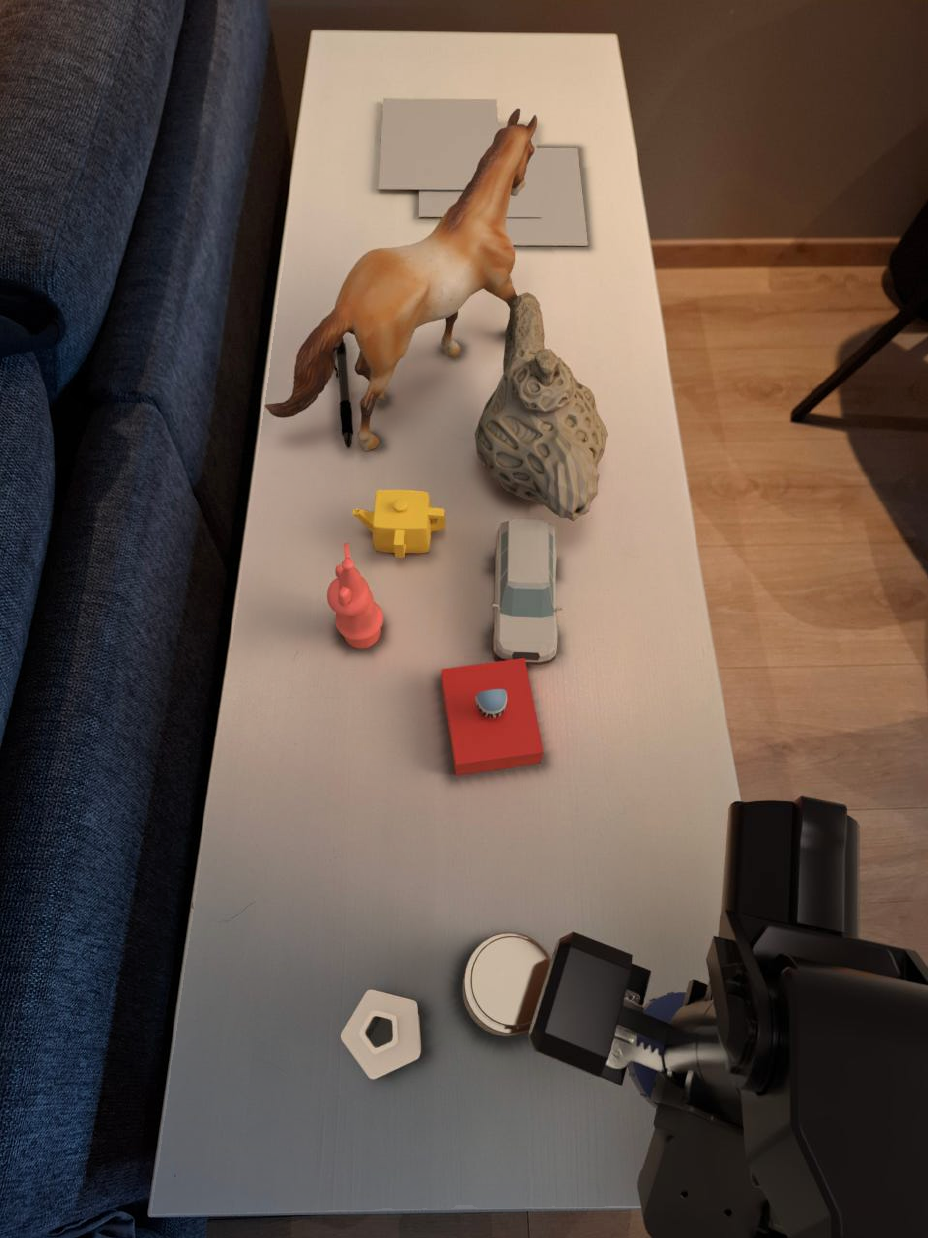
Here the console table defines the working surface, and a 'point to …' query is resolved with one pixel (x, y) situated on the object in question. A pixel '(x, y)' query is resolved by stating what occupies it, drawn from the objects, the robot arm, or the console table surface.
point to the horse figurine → (420, 282)
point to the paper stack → (448, 158)
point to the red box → (491, 716)
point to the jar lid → (663, 1011)
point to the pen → (344, 394)
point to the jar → (505, 983)
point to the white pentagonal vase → (383, 1033)
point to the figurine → (354, 605)
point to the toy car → (525, 592)
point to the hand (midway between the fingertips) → (677, 1055)
